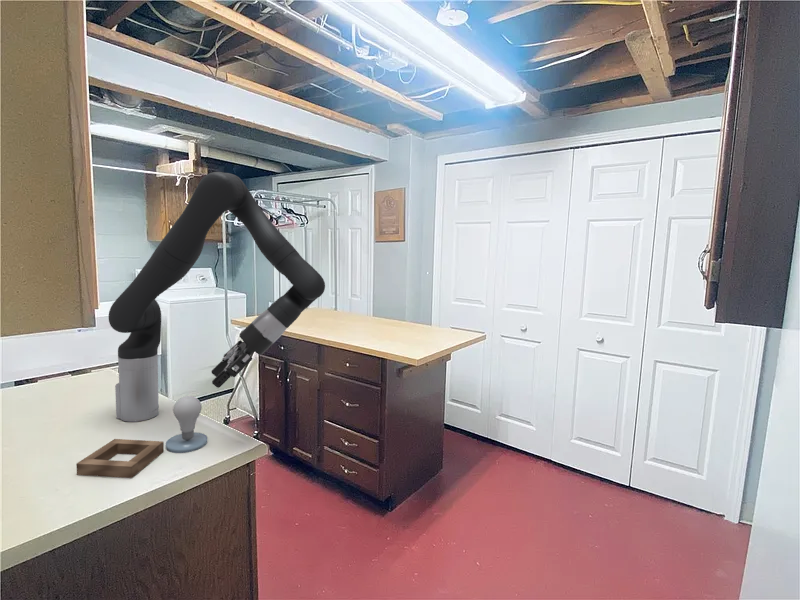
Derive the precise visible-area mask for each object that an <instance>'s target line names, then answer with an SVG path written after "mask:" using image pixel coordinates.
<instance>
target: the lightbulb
mask: <svg viewBox="0 0 800 600" xmlns="http://www.w3.org/2000/svg"><path fill="white" fill-rule="evenodd" d="M172 411H173V416H174V417H175V419H176V420H177V422H178V423H179V427H180V431H181V434H182V439H184V440H186V441H188V440H190V439H192V438H193V436H194V432H195V428H196V424H197V423H196V422H197V419H198V418H199V416H200V414H201V412H202V403H201V401H200V400H199V399H198V398H197V397H195V396H192V395H185V396H181V397H180V398H178V400H177V401H175V403H174V405H173V407H172Z"/></svg>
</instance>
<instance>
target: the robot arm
mask: <svg viewBox="0 0 800 600" xmlns="http://www.w3.org/2000/svg"><path fill="white" fill-rule="evenodd" d="M188 201H189V202H188V203H187V205H186V207H185V208H184V210H183V211H182V213H181V214H180V216H179V217H178V218H177V220H176V221H175V222H174V223H173V224H172V226H171V227H170V229H169V231H168V232H167V233H166V235H165V236H164V238H163V239H161V241H160V243H159V244H158V246H156V248H155V249H154V251H153V252H152V254H151V256H150V257H149V259H148V260H147V262H146V263H145V264H144V266H143V267H142V268H141V270H140V271H139V272H138V273H137V275H136V276H135V278H134V279H133V280H132V282H131V283H130V284H129V285H128V287H127V288H126V289H124V290H123V291H122V293H121V294H119V296H118V297H117V298H116V299H115V300H114V301H113V303H112V304H111V306H110V309H109V312H108V322H109V325H110V327H111V328H112V329H113V330H114V331H116V332H118V333H124V334H125V333H126V334H129V333H130V334H129V336H128V337H127V339H125V341H123V342H122V343H121V344H119V346H118V348H117V359H118V360H117V362H118V363H117V365H118V383H116V384H115V387H114V388H115V389H114V390H115V416H116V419H118V420H121V421H124V422H142V421H147V420H150V419H153V418H155V417H157V416H158V414H159V413H160V411H159V410H160V405H159V400H160V399H159V397H160V396H159V364H158V363H159V356H158V355H159V354H158V350H159V347H160V343H161V340H162V339H161V338H162V337H161V336H162V311H161V307H160V304H159V302H158V301H157V300H156V299H157V298H158V297H159V296H160V295H161V294H163V293H164V292H166V291H168V289H170V288H171V287H172V286H174V285H175V284H176V283H177V284H178V282H180V281H181V280H182V279H184V277H185V276H187V274H188V273H189V272H190V270H191V269H192V268H193V267H194V265H195V264H196V263H197V260H198V259H199V257H200V256H201V254H202V251H203V249H204V245H205V242H206V237H207V235H208V233H209V231H210V229H211V228H212V226H213V225H214V224H215V223H217V221H218V219H219V218H220V217H222V215H223V214H224V213H225V212H226V211H228V212H230V213H231V214H232V215H233V216H234V217H235V218H237V219H238V220H239V221H240V222H241V223H242V224H243V225H244V227H245V228H246V229H247V231H248V232H249V234H250V236H251V237H252V238H253V241H254V242H255V244H256V246H257V248H258V249H259V251H260V252H261V254H262V255H263V256H264V257H265V258H266V260H267V261H268V262H269V263H270V264H271V265H272V266H273V267H274V268H275V269H276V270H277V271H278V272H279V273H280V274H281V275H283V276H284V277H285V278H286V279H287V280H288V282H290V284H291V287H290V288H289V289H288V290H286V292H285V293H284V294H283V295H282V296H280V297H278V298H277V299H276V300H275V301H274V302H272V304H271V305H269V307H267V309H265V310H264V311H263V312H261V313H260V314H259V315H257V317H255V318H254V319H253V320H252V322H251V323H250V324H248V325H247V327H245V328H244V329H243V330H242V331H241V332H240V333H239V338H240V340H238V341H237V342H236V343H235V344H234V345H233V346H232V347H231V348H230V349H229V350H228V351H227V352H226V353H224V354H223V357H222V359H221V361H220V362H219V363H218V364H217V365H216V366H215V367H213V369H212V370H211V374H212V375H213V376H214V377H215V378H213V380H212V382H211V384H212V385H214V387H216V388H220V387H222V386H223V385H224V384H225V383H226V382H227V381H228V380H229V379H230V378H232V377H233V378H236V377H237V376H238V375H239V373H240V372H242V371H243V369H245V367H246V366H247V365H248V364H250V362H251V361H252V360H253V357H251V356H252V354H253V353H256V354H257V355H259V356H261V355H263V354H264V353H265V352H267V350H269V348H271V346H273V345H274V344H275V342H276V341H278V339H280V337H282V335H283V334H285V332H286V331H287V329H289V327H291V325H293V323H294V322H295V321H296V320H297V319H298V318H299V317H300V315H301V314H302V312H304V311H305V310H306V309H307V308H308V307H309V306H310V305H311V304H313V302H315V300H317V299H318V298H320V297H322V295H323V294H324V292H325V291H326V289H325V288H326V283H325V280H324V278H323V277H322V275H321V274H320V273H319V271H317V270H316V269H315V268H314V267H313V266H312V265H311V264H309V262H308V261H306V260H305V259H304V258H303V257H302V255H301V254H300V253H299V252H298V251H297V249H296V248H295V247H294V246H293V245H292V244H291V242H290V241H289V240H287V238H286V237H285V236H284V235H283V234H282V233H281V232H280V230H279V229H278V228H277V227H276V225H274V223H273V222H272V221H271V220H270V219H269V217H268V216H267V215H266V213H265V212H264V211H263V210H262V208H261V206H260V205H259V204H258V202H257V201H256V199H255V197H254V196H253V195H252V193H251V191H250V189H248V187H247V185H246V184H245V182H244V181H243V179H241V178H240V177H239V176H238V175H235V174H233V173H230V172H221V171H214V172H210V173H207V174H206V175H204V177H202V178H201V180H199V183H198V184H197V186H196V188H195V190H194V192H193V194H192V196H191V198H190V199H189V200H188Z"/></svg>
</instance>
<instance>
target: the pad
mask: <svg viewBox="0 0 800 600" xmlns="http://www.w3.org/2000/svg"><path fill="white" fill-rule="evenodd" d="M207 443H208V436H207V434H205V433H202V432H197V431H196V432H195V431H194V436H193V438H192V439H190V440H188V441H186V440H184V439H182V433H179V434H175V435H173V436H171V437H170V438H168V439H167V440H166V441H165V449H166V451H168V452H170V453H173V454H174V453H175V454H186V453H192V452H195V451H198V450H200V449H203V448H204V447H205V446H206V445H207Z"/></svg>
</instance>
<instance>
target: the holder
mask: <svg viewBox="0 0 800 600" xmlns="http://www.w3.org/2000/svg"><path fill="white" fill-rule="evenodd" d="M164 449H165V447H164V441H160V440H139V439H123V438H114V439H112V440H111V441H109V442H108V443H106V444H104V445H103V446H102V447H99V448H98V449H97V450H95V451H93V452H92V453H91V454H89V455H87V456H86V457H84V458H83V459H80V460H79V461H78V462H76V475H77V476H84V477H85V476H90V477H102V478H103V477H105V478H106V477H107V478H122V479H124V478H127V479H133V478H134V477H135V476H136V475H138V474H139V473H140V472H141V471H142V470H144V469H145V468H146V467H147V466H149V465H150V464H151V463H152V462H154V460H156V459H157V458H158V457H159V456H161V455H162V454H164V452H165V450H164ZM118 454H119V455H133V456H134V455H135V456H134V457H131V459H130V460H115V459H114V460H111V459H112V458H113V457H115V456H116V455H118Z"/></svg>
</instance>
